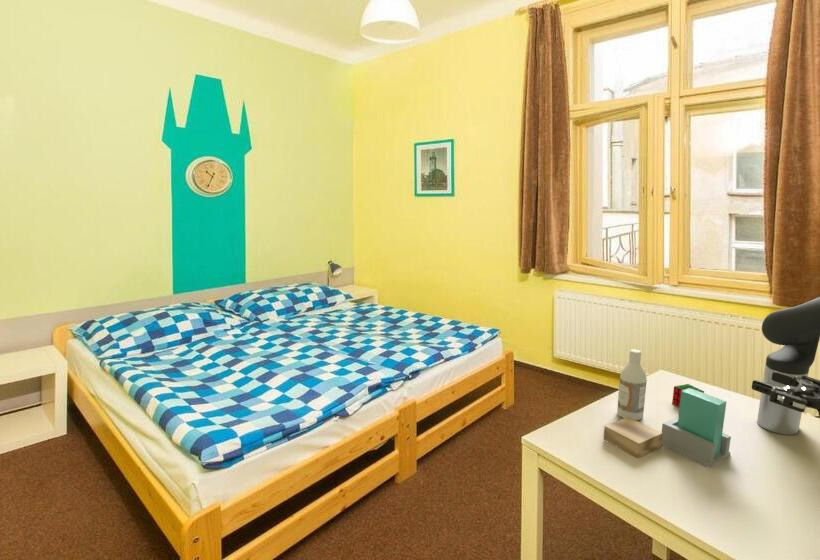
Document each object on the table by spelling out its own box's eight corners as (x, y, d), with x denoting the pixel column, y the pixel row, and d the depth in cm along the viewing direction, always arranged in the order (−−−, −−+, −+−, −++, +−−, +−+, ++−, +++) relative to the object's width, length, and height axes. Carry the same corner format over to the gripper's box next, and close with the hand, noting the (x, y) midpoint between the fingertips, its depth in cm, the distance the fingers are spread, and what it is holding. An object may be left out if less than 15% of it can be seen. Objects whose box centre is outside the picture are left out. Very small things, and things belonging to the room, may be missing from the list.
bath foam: (611, 411, 142) (616, 348, 138) (631, 408, 144) (636, 345, 140) (628, 422, 135) (634, 356, 131) (648, 419, 137) (654, 353, 133)
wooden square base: (626, 430, 131) (627, 416, 130) (660, 447, 123) (662, 433, 122) (603, 439, 127) (604, 425, 126) (637, 458, 118) (638, 443, 117)
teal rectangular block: (683, 437, 125) (689, 387, 123) (719, 453, 118) (726, 401, 115) (675, 440, 124) (681, 390, 121) (711, 457, 116) (718, 404, 113)
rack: (679, 432, 130) (681, 413, 129) (730, 455, 119) (732, 435, 118) (656, 442, 125) (658, 423, 124) (707, 467, 114) (710, 446, 113)
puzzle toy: (671, 403, 147) (673, 386, 145) (686, 400, 148) (688, 383, 147) (687, 411, 141) (689, 393, 140) (702, 408, 143) (704, 391, 142)
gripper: (875, 384, 95) (781, 357, 109) (844, 402, 88) (748, 371, 102) (867, 418, 97) (776, 387, 111) (836, 438, 90) (743, 402, 104)
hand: (762, 379), depth 106 cm, fingers open, 8 cm apart
